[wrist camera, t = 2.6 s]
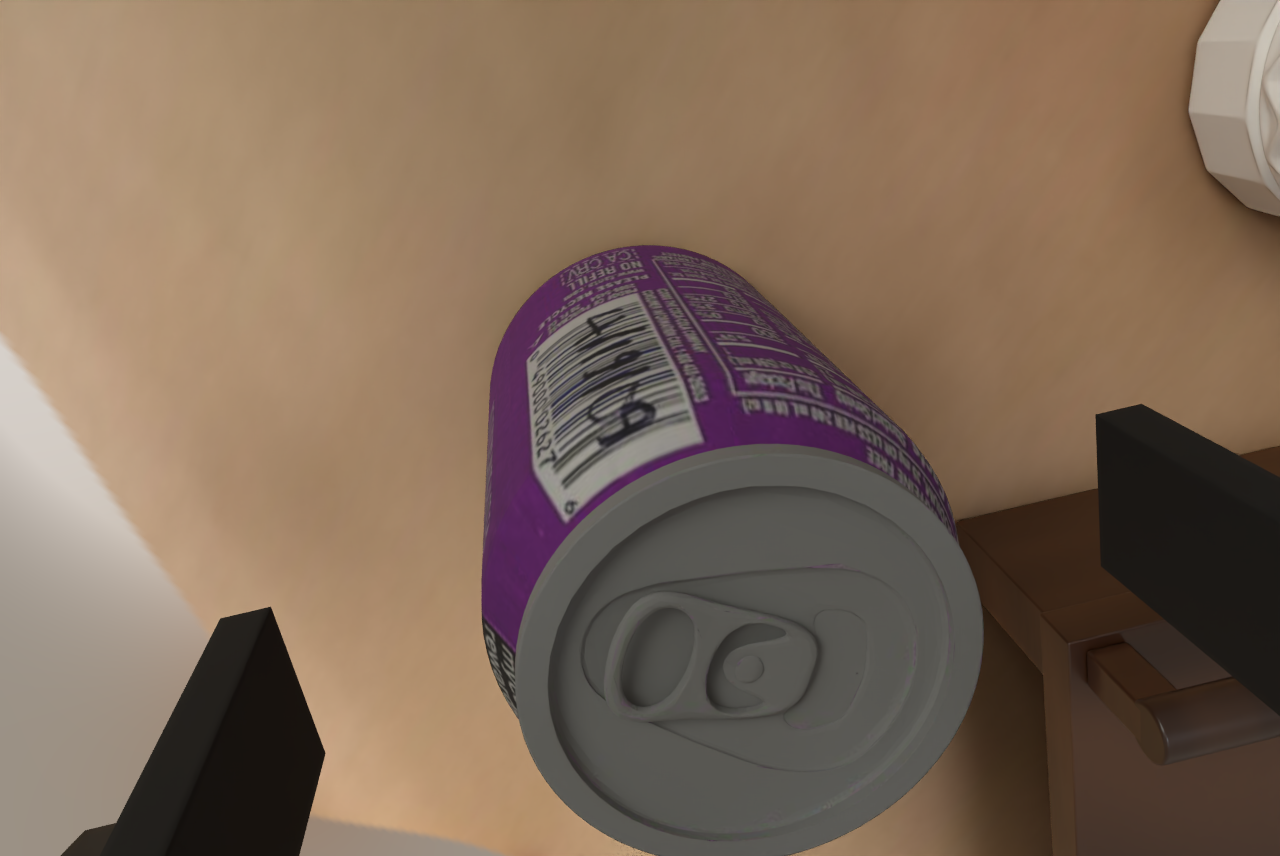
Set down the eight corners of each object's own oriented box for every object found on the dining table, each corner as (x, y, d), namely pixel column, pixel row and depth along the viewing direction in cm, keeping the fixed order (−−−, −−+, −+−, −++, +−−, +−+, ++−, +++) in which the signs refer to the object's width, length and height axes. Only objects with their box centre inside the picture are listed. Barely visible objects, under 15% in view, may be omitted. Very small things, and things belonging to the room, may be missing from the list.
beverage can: (465, 498, 25) (432, 868, 13) (522, 208, 22) (539, 364, 11) (742, 542, 26) (919, 912, 15) (821, 274, 24) (1100, 471, 13)
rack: (938, 507, 26) (1147, 727, 18) (1372, 406, 27) (1777, 572, 18) (980, 952, 32) (1151, 1279, 24) (1336, 861, 33) (1629, 1149, 24)
